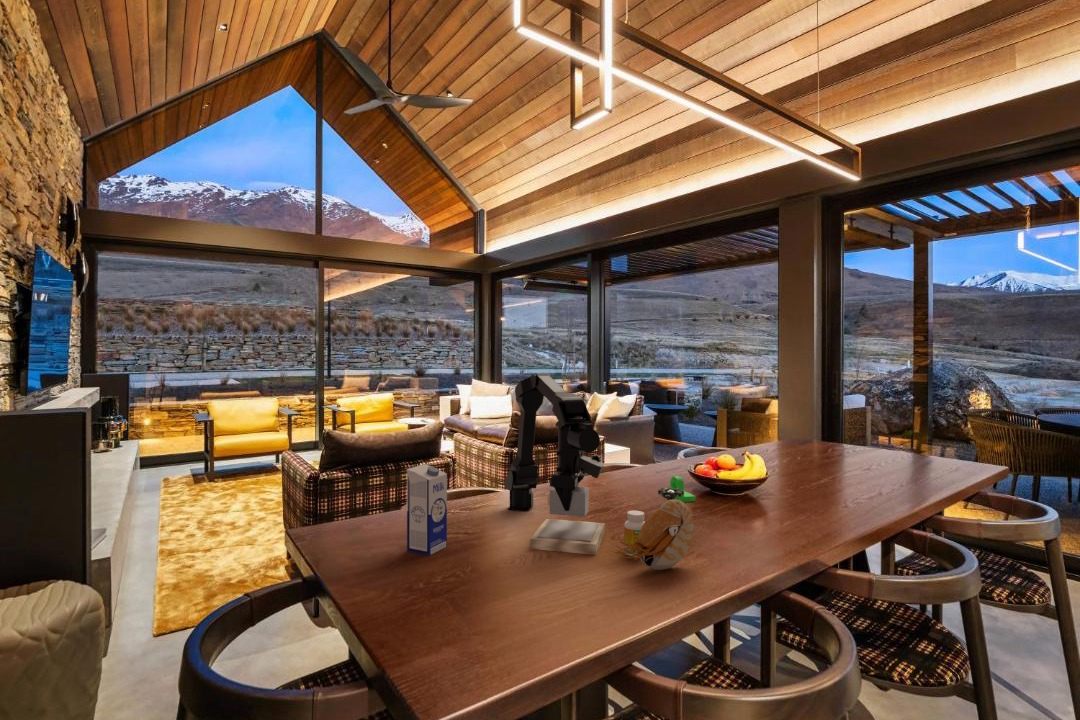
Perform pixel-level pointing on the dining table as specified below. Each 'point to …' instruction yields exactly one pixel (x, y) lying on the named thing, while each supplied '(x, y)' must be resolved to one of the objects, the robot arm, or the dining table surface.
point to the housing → (577, 502)
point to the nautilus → (664, 536)
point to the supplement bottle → (633, 529)
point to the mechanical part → (678, 483)
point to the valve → (671, 493)
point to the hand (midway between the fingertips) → (569, 507)
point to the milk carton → (426, 510)
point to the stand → (568, 536)
